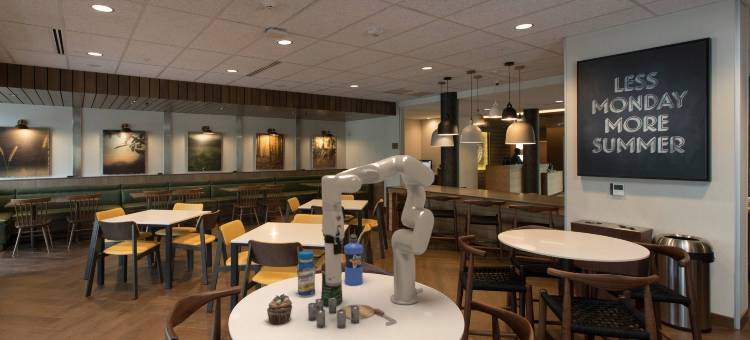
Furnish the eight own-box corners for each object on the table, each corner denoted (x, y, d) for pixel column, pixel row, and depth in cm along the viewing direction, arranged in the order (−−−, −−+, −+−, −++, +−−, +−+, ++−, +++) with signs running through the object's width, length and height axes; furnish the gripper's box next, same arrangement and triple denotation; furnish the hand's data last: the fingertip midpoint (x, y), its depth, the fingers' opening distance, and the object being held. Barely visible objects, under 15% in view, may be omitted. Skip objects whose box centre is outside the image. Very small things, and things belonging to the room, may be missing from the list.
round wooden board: (361, 302, 175) (361, 302, 175) (382, 313, 163) (382, 312, 163) (331, 310, 166) (331, 309, 166) (351, 322, 154) (351, 321, 154)
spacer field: (336, 308, 169) (336, 294, 169) (361, 322, 154) (361, 307, 154) (303, 317, 160) (302, 302, 160) (325, 333, 145) (325, 317, 144)
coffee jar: (333, 308, 169) (333, 265, 168) (318, 305, 173) (317, 262, 172) (345, 301, 177) (345, 259, 177) (330, 298, 181) (330, 257, 181)
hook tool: (367, 314, 162) (367, 311, 162) (377, 312, 165) (377, 308, 165) (387, 325, 151) (387, 321, 151) (397, 322, 154) (397, 318, 154)
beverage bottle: (317, 291, 190) (317, 250, 190) (313, 297, 182) (312, 254, 181) (300, 291, 191) (299, 249, 190) (295, 297, 183) (294, 254, 182)
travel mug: (331, 287, 152) (330, 236, 151) (322, 283, 158) (321, 233, 157) (345, 284, 156) (344, 233, 155) (336, 280, 161) (335, 231, 160)
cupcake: (281, 314, 163) (281, 289, 163) (297, 320, 157) (296, 294, 157) (261, 321, 156) (261, 296, 156) (277, 328, 150) (276, 301, 149)
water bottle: (342, 281, 205) (341, 233, 205) (358, 279, 209) (358, 232, 208) (348, 287, 197) (348, 236, 196) (365, 284, 201) (365, 235, 200)
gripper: (352, 208, 151) (353, 255, 151) (329, 203, 165) (330, 246, 165) (334, 210, 146) (336, 258, 147) (313, 205, 160) (314, 249, 161)
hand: (333, 251), depth 156 cm, fingers closed on travel mug, 6 cm apart
